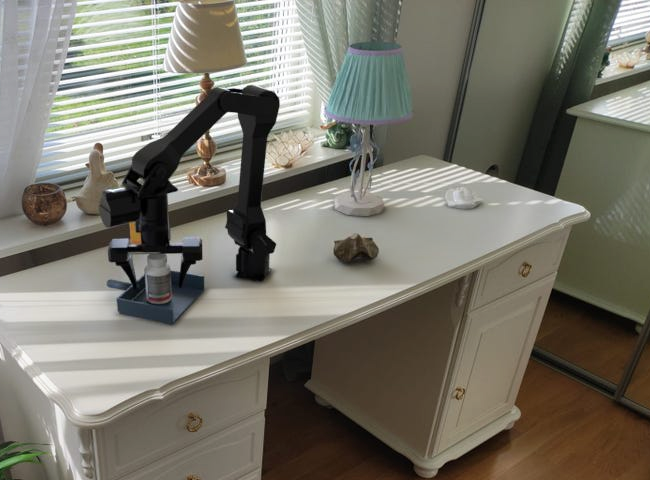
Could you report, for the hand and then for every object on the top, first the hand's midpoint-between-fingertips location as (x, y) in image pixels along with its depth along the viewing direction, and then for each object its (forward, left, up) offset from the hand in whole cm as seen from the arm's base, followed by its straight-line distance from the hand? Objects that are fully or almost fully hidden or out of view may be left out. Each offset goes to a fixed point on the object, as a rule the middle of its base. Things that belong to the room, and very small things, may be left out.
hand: (157, 287), depth 148 cm
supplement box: (+18, -25, -3) cm, 31 cm away
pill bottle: (0, 0, -3) cm, 3 cm away
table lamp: (-26, -67, -3) cm, 72 cm away
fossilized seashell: (-33, -35, 0) cm, 48 cm away
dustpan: (+3, 0, -3) cm, 4 cm away
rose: (-51, -80, -3) cm, 95 cm away
